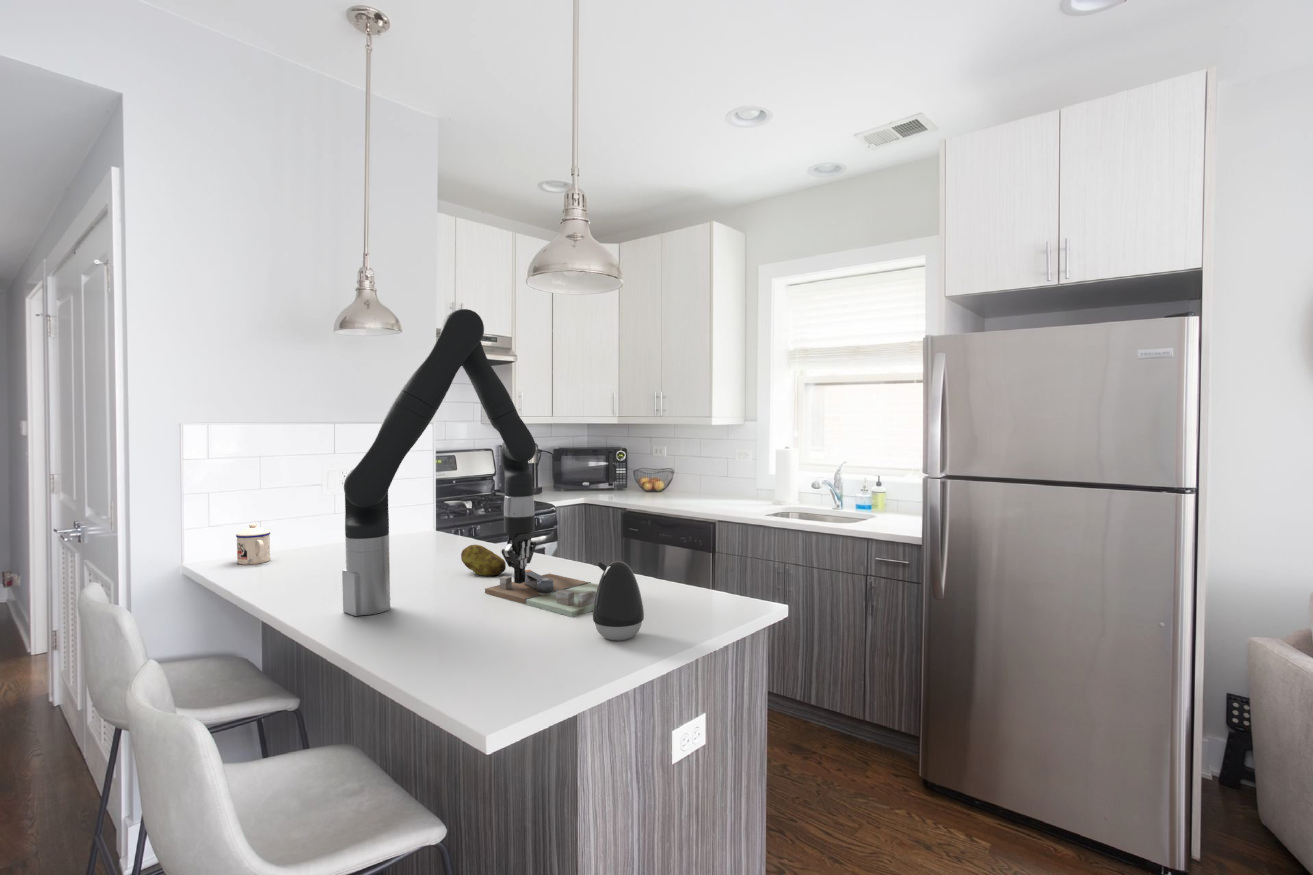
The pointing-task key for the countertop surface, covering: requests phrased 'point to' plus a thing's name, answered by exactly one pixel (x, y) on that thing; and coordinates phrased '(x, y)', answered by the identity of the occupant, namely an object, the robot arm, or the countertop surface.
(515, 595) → the board
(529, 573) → the arm
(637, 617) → the pump dispenser
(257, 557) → the teacup with lid
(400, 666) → the countertop surface
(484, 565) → the potato
